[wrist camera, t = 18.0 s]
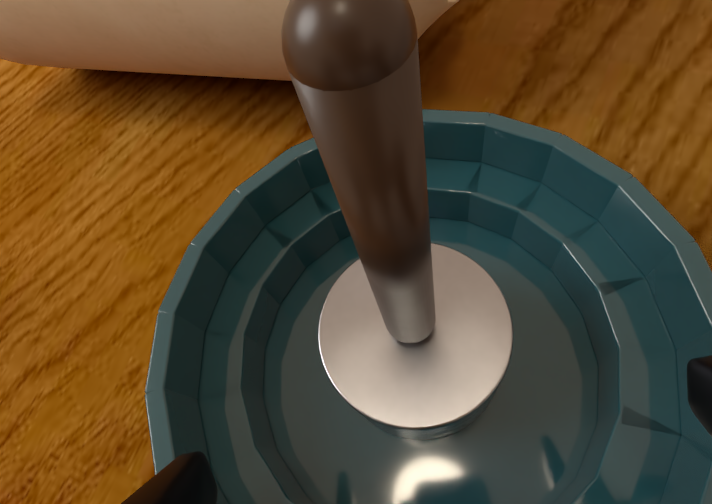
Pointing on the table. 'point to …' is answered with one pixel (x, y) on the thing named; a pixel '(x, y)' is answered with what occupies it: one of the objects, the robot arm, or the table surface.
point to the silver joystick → (391, 230)
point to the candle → (160, 35)
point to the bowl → (530, 330)
